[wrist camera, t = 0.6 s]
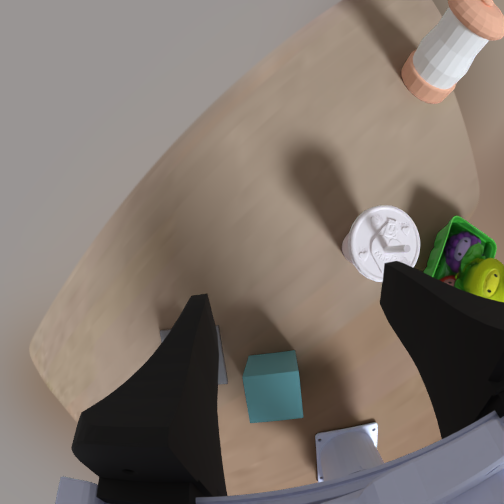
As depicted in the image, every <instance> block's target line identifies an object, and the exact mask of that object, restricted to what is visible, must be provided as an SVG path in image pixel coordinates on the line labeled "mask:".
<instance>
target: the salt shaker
mask: <svg viewBox="0 0 504 504" xmlns="http://www.w3.org/2000/svg"><path fill="white" fill-rule="evenodd" d="M448 4H449V8H448V9H447V11H446V12H445V14H444V15H443V17H442V18H441V20H440V21H439V23H438V24H437V25H436V26H435V27H434V28H433V29H432V30H431V31H430V32H429V33H428V34H427V35H426V36H425V37H424V38H423V39H422V41H421V43H420V44H419V46H418V48H417V49H416V50H414V51H413V52H412V53H411V54H410V55H409V57H408V59H407V60H406V62H405V64H404V65H403V68H402V70H401V76H402V79H403V82H404V84H405V85H406V87H407V88H408V90H409V91H410V92H411V93H412V94H413V95H414V96H416V97H417V98H419V99H420V100H422V101H425V102H427V103H434V104H436V103H439V102H442V101H443V100H444V99H445V98H446V97H447V96H448V95H449V94H450V93H451V92H452V91H453V90H454V89H455V86H456V82H457V81H458V80H459V79H461V78H462V77H463V75H465V74H466V72H467V70H468V68H469V67H470V65H471V63H472V62H473V60H474V58H475V56H476V55H477V54H478V52H479V51H480V50H481V49H482V48H483V47H484V46H485V45H486V43H487V42H488V41H489V40H499V39H502V38H503V37H504V15H503V14H502V13H501V11H500V10H499V8H498V7H497V6H496V5H495V4H494V2H493V0H448Z"/></svg>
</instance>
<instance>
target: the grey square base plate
mask: <svg viewBox="0 0 504 504" xmlns="http://www.w3.org/2000/svg"><path fill="white" fill-rule="evenodd" d="M216 330H217V335H218V347H219V370H218V384H227V383H228V379H227V374H226V368H225V362H224V356H223V350H222V344H221V338H220V332H219V325H217V326H216ZM170 331H171V329H170V330H161V331H160V336H161V341H162V342H163V341H164V339H165V338H166V336H167V335H168V334H169V332H170Z"/></svg>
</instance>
